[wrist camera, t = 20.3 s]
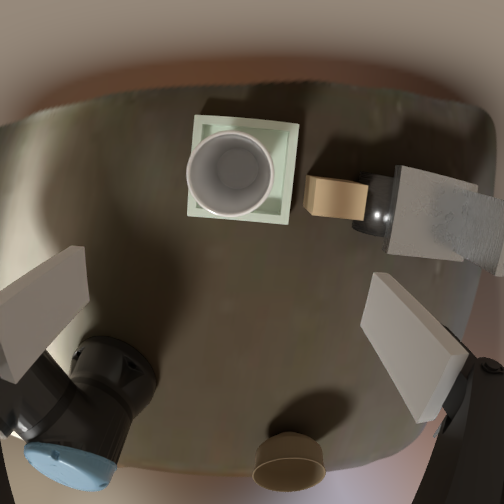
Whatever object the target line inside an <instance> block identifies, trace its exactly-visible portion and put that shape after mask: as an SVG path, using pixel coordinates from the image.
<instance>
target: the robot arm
mask: <svg viewBox="0 0 504 504" xmlns="http://www.w3.org/2000/svg"><path fill="white" fill-rule="evenodd" d="M89 301H90V299H89V291H88V282H87V271H86V260H85V247H82V246H72V245H71V246H69V247H68V248H66V249H64V250H63V251H61V252H60V253H58V254H56V255H55V256H53V257H51V258H50V259H48V260H47V261H45V262H43V263H42V264H40V265H39V266H37V267H36V268H34V269H33V270H31V271H29V272H28V273H26V274H25V275H23V276H22V277H20V278H19V279H17V280H16V281H14V282H13V283H11V284H10V285H9V286H7V287H6V288H4V289H3V290H1V291H0V439H7V437H8V436H9V435H10V434H11V433H12V432H13V431H15V432H16V433H17V434H18V435H19V436H20V437H21V438H22V439H23V440H25V442H26V443H27V444H26V445H25V446H24V455H25V457H26V459H27V460H28V461H29V463H30V464H31V465H32V466H33V467H34V468H36V469H37V470H38V471H39V472H41V473H42V474H44V475H46V476H47V477H49V478H51V479H52V480H54V481H56V482H58V483H60V484H63V485H65V486H68V487H71V488H74V489H78V490H83V491H100V490H103V489H104V488H106V487H107V486H108V485H109V483H110V481H111V478H112V476H113V474H114V472H115V471H116V469H117V463H118V460H119V457H120V454H121V451H122V448H123V446H124V443H125V440H126V437H127V434H128V431H129V429H130V426H131V423H132V421H133V419H134V418H135V417H136V416H137V415H138V414H139V413H140V412H141V411H142V410H143V409H144V408H145V407H146V406H147V405H148V404H149V403H150V401H151V400H152V397H153V395H154V392H155V389H156V378H155V374H154V371H153V369H152V367H151V366H150V364H149V363H148V361H147V360H146V359H145V358H144V357H143V356H142V355H141V354H140V353H139V352H138V351H137V350H135V349H134V348H133V347H131V346H130V345H128V344H126V343H124V342H122V341H120V340H117V339H114V338H111V337H105V336H96V337H91V338H88V339H86V340H85V341H83V342H82V343H81V344H80V346H79V347H78V348H77V350H76V351H75V353H74V355H73V357H72V361H71V366H70V371H69V376H68V375H67V374H66V373H65V372H64V371H63V370H62V368H61V367H60V366H59V365H58V364H57V363H56V361H55V360H54V359H53V358H52V356H51V355H50V354H49V353H48V351H47V350H46V348H47V347H48V346H49V345H50V344H51V343H52V341H53V340H54V339H55V338H56V337H57V336H58V335H59V334H60V332H61V331H62V330H63V329H64V328H65V327H66V326H67V325H68V324H69V323H70V322H71V320H72V319H73V318H74V317H75V316H76V315H77V314H78V313H79V312H80V311H81V310H82V309H83V308H84V307H85V305H86V304H87V303H88V302H89ZM360 326H361V327H362V329H363V331H364V332H365V334H366V336H367V337H368V339H369V341H370V342H371V344H372V346H373V347H374V349H375V351H376V352H377V354H378V356H379V358H380V359H381V361H382V363H383V364H384V366H385V368H386V370H387V371H388V373H389V375H390V377H391V378H392V380H393V382H394V384H395V385H396V387H397V389H398V391H399V392H400V394H401V396H402V398H403V400H404V401H405V403H406V405H407V407H408V409H409V410H410V412H411V414H412V416H413V418H414V420H415V421H416V423H422V422H427V421H432V420H435V418H436V417H437V415H438V413H439V411H440V410H441V408H442V407H443V408H444V410H445V411H446V413H447V415H446V416H445V418H444V420H443V421H442V423H441V424H440V426H439V428H438V429H437V431H436V432H435V434H434V435H433V437H434V438H435V437H436V436H437V434H438V437H437V440H436V443H435V446H434V449H433V452H432V455H431V457H430V460H429V463H428V466H427V468H426V471H425V473H424V476H423V479H422V481H421V483H420V486H419V488H418V490H417V493H416V495H415V498H414V500H413V502H412V504H504V367H503V366H502V365H501V364H499V363H498V362H497V361H495V360H493V359H490V358H486V357H482V358H481V357H480V358H478V359H477V358H476V357H475V356H474V355H473V354H472V352H471V351H470V350H469V349H468V348H467V347H466V346H465V345H464V344H463V343H462V342H460V340H459V339H458V338H457V337H456V336H455V335H454V334H453V333H452V332H451V331H450V330H449V329H448V328H447V327H446V326H444V325H442V324H441V323H439V322H438V321H437V320H436V319H435V318H434V317H433V316H432V315H431V314H430V313H429V312H428V311H427V310H426V309H425V308H424V307H423V306H422V305H421V304H420V303H419V302H418V301H417V300H416V299H415V298H414V297H413V296H412V295H411V294H410V293H409V292H408V291H407V290H406V289H405V288H403V287H402V286H401V285H400V284H399V283H398V282H397V281H396V280H395V279H394V278H393V277H392V276H391V275H390V274H388V273H380V272H373V277H372V281H371V285H370V289H369V293H368V297H367V301H366V305H365V309H364V313H363V317H362V321H361V324H360ZM0 504H15V502H14V498H13V495H12V491H11V487H10V484H9V480H8V476H7V472H6V467H5V463H4V458H3V453H2V447H1V442H0Z"/></svg>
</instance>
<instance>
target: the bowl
mask: <svg viewBox="0 0 504 504" xmlns="http://www.w3.org/2000/svg"><path fill="white" fill-rule="evenodd" d="M325 474H326V470H325V467H324V464H323V454H322V449H321V447H320V445H319V444H318V443H317V442H316V441H315V440H313V439H312V438H310V437H308V436H306V435H303V434H299V433H296V432H283V433H280V434H278V435H275V436H273V437H271V438H269V439H267V440H266V441H265V442H263V443H262V444H261V445H260V446H259V448H258V449H257V451H256V455H255V468H254V471H253V474H252V476H253V479H254V481H255V482H256V483H257V484H258V485H259V486H261V487H264V488H266V489H269V490H273V491H280V492H292V491H300V490H304V489H307V488H310V487H312V486H314V485H316V484H318V483H319V482H321V481H322V479H323V478H324V477H325Z"/></svg>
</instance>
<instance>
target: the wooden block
mask: <svg viewBox="0 0 504 504" xmlns="http://www.w3.org/2000/svg"><path fill="white" fill-rule="evenodd" d="M367 192H368V185H364V184H361V183H357V182H354V181H349V180H342V179H335V178H327V177H320V176H312V175H306V183H305V192H304V201H303V207H304V208H305V209H306V210H307V211H308V212H310V213H311V214H312V215H316V216H326V217H335V218H344V219H353V220H361V221H363V219H364V213H365V206H366V199H367Z"/></svg>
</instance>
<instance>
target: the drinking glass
mask: <svg viewBox="0 0 504 504" xmlns="http://www.w3.org/2000/svg"><path fill="white" fill-rule="evenodd" d="M274 174H275V172H274V164H273V160H272V158H271V155H270V153H269V152H268V150H267V148H266V147H265V146H264V145H263V144H262V143H261V142H260V141H259V140H258V139H256V138H255V137H253V136H252V135H250V134H247V133H245V132H241V131H235V130H226V131H220V132H217V133H214V134H212V135H210V136H208V137H206V138H205V139H203V140H202V141H201V142H200V143H199V144H198V145H197V146H196V147H195V149H194V150H193V152H192V154H191V155H190V158H189V161H188V164H187V171H186V177H187V184H188V187H189V190H190V192H191V194H192V196H193V198H194V199H195V200H196V202H197V203H198V204H199V205H200V206H201V207H202V208H204V209H205V210H207V211H208V212H210V213H212V214H215V215H218V216H222V217H238V216H242V215H246V214H248V213H250V212H252V211H254V210H255V209H257V208H258V207H259V206H260V205H261V204H262V203H263V202H264V201H265V200H266V198H267V197H268V195H269V194H270V192H271V189H272V186H273V183H274Z"/></svg>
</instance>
